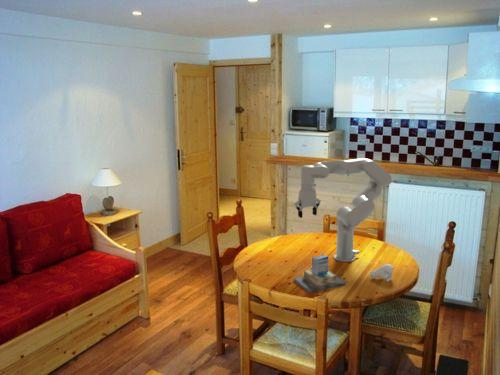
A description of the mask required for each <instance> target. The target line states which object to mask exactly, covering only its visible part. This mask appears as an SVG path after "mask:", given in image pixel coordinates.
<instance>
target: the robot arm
mask: <svg viewBox="0 0 500 375" xmlns="http://www.w3.org/2000/svg"><path fill="white" fill-rule="evenodd" d="M300 168H301V169H300V171H301V173H300V175H301V176H300V189H299V191H298V198H297V201H296V202H295V203H294V207H295V209H296V210H297V216H298V218H301V219H302V218H303V210H304V209H305V208H310V207H312V215H313V216H317V214H318V213H317V212H318V208H319V206H320V204H321V201H322V200H320V199H319V198H317V192H316V189H315V187H317V184H316V182H315V179H322V180H323V179H326V178H328V177H329V175H330V174H333V175H339V176H340V175H341V176H350V175H358V174H364V175H366V176H368V177H369V183H368V185H367V186H366V188H364V189H363V191H360V193H359V194H358V195H356V196H355V197H353V199H352V201H351V206H352V207H353V208H352V207H349V206H346V205H345V206H340V207H339V208H338V210H337V212H336V225H337V226H336V227H337V231H336V234H337V235H336V253H335V254H334V255H333V259H334V260H336V261H338V262H341V263H350V262H351V263H352V262H354V261H355V260H356V255H359V254H360V250H359V249H358V250H356V249H354V232H355V228H356V227H358V226H359V225H361V223H363V222H364V221H365V220H366V219H368V218H369V217H370V216H371V215H372V214H373V212H374V211H375V203H374V202H375V201H376V200H377V199H378V198H379V197H380V196H381V193H382V190H383V188H384V187H385V188H386V187H388V186H390V185H391V184H392V181H393V178H392V175H391V174H390V173H389V171H387V170H386V169H384V167H382V166H381V165H379V164H378V163H377V162H376V161H374V160H372V159H370V158H365V157H360V158H354V159H346V160H345V159H344V160H329V161H328V160H326V161H319V162H316V163H313V164H312V165H310V164H304V165H302V166H301V167H300Z"/></svg>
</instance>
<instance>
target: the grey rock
mask: <svg viewBox="0 0 500 375" xmlns="http://www.w3.org/2000/svg"><path fill="white" fill-rule="evenodd" d="M393 267H394V266H393V265H391V264H389V263H386V264H382V265H381V266H380V267H378V268H377V269H375V270H371V271H370V272H369V276H370V277H371V279H372V280H375V279H376V278H381V279H383V280H386V282H387V283H388V282H390V281H391V280H392V278H393V275H394V268H393Z"/></svg>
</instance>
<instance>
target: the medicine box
mask: <svg viewBox="0 0 500 375" xmlns="http://www.w3.org/2000/svg"><path fill="white" fill-rule="evenodd" d="M311 270H312V273H313V274H315V275H320V274H323V273H326V272H328V271H329V256H327V255H325V254H320V255H317V256H314V257H311Z"/></svg>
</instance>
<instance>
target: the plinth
mask: <svg viewBox="0 0 500 375" xmlns="http://www.w3.org/2000/svg"><path fill="white" fill-rule="evenodd" d="M293 282H295V284H297V285H299V286H300V287H301V288H302V289H304V291H306V292H307V293H309V294H312V293H317V292H321V291H325V290H330V289H335V288H338V287H344V286H347V282H346V281H345V280H344V279H342V278H340V277H338V276H337V275H336V274H335V273H333V272H332V271H330V270H328V272H326V273H323V274H320V275H315V274H313V273H312V269H309V270H308V269H307V270H303V276H299V277H295V278H293Z"/></svg>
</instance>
